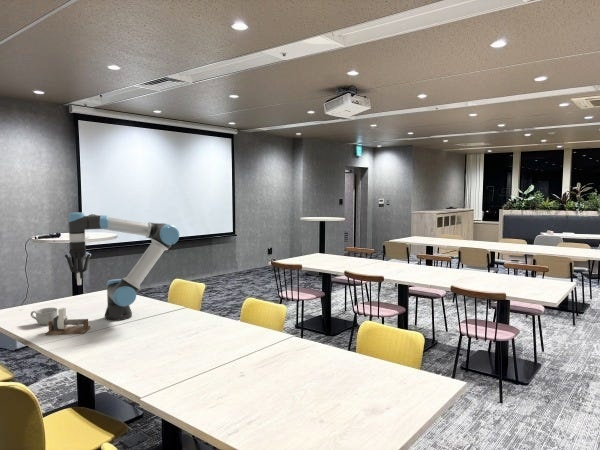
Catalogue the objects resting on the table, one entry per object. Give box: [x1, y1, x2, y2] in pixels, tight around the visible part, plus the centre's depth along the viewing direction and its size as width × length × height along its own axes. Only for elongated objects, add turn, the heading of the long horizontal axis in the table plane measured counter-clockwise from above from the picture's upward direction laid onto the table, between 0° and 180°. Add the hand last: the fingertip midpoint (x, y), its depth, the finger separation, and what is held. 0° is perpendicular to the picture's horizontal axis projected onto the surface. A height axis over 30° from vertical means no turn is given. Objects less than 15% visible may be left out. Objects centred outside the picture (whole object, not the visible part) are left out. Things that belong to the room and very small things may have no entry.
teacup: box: [30, 307, 59, 326], centre depth 243 cm, size 14×11×8 cm
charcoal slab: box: [54, 316, 59, 330], centre depth 229 cm, size 2×6×6 cm, turn 8°
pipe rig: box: [44, 318, 92, 336], centre depth 230 cm, size 19×11×6 cm, turn 98°
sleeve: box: [57, 307, 68, 329], centre depth 229 cm, size 3×6×10 cm, turn 8°
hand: (79, 284), depth 231 cm, fingers closed
